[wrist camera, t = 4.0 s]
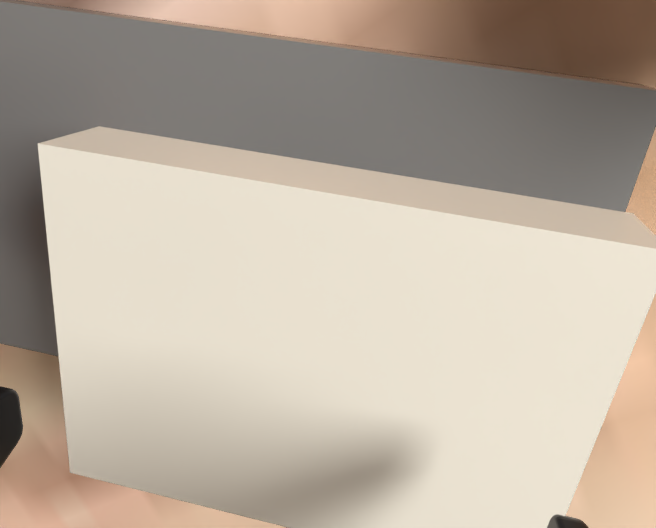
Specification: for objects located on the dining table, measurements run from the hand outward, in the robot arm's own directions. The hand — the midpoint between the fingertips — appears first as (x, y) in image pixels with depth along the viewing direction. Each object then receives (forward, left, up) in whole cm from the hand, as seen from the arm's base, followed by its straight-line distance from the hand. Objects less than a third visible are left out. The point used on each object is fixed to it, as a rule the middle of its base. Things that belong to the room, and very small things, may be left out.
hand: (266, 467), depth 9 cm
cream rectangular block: (0, 0, -6) cm, 6 cm away
